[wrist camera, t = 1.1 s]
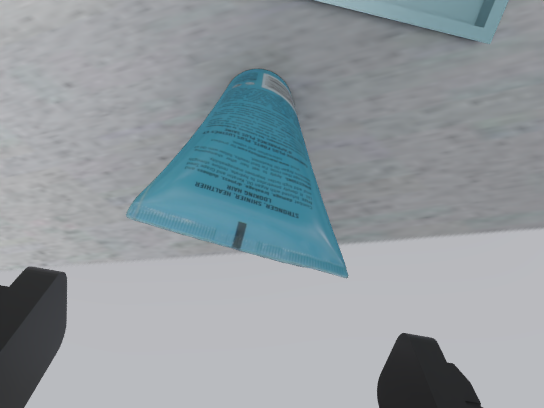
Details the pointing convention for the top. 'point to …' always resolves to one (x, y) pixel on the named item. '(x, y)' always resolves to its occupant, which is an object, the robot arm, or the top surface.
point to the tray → (437, 14)
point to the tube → (247, 181)
